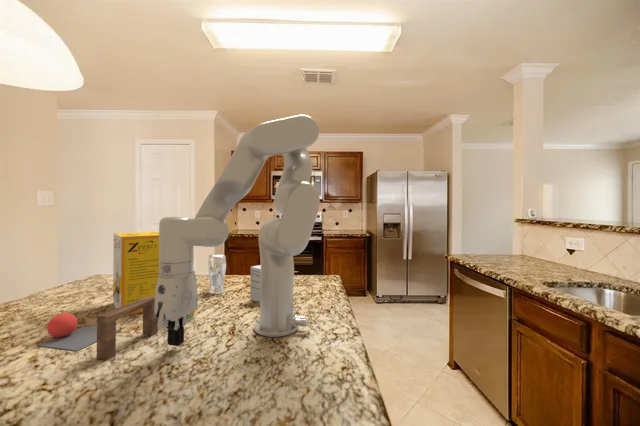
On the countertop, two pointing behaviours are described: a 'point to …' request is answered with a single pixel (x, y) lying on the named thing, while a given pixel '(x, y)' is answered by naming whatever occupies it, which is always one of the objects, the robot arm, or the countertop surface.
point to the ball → (62, 325)
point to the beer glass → (216, 273)
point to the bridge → (108, 325)
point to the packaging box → (135, 267)
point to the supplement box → (255, 283)
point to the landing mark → (74, 339)
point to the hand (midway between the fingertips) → (175, 343)
